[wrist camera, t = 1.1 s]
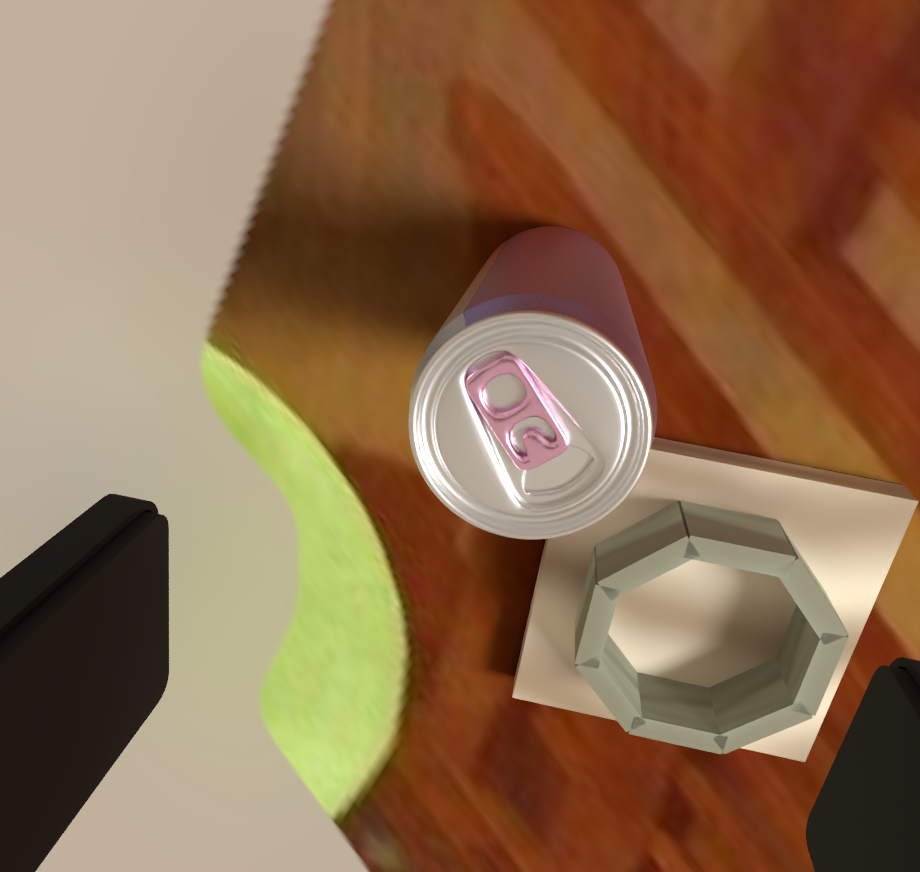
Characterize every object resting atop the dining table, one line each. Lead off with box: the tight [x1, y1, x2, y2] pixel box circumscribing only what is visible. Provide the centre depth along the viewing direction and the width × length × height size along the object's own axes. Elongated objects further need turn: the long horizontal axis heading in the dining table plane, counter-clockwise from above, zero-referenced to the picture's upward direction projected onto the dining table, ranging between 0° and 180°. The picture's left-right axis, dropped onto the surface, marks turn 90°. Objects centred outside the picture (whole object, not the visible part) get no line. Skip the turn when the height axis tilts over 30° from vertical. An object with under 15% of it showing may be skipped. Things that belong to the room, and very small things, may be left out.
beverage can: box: [409, 226, 657, 540], centre depth 24 cm, size 6×6×15 cm
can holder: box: [512, 437, 918, 762], centre depth 33 cm, size 14×14×4 cm
